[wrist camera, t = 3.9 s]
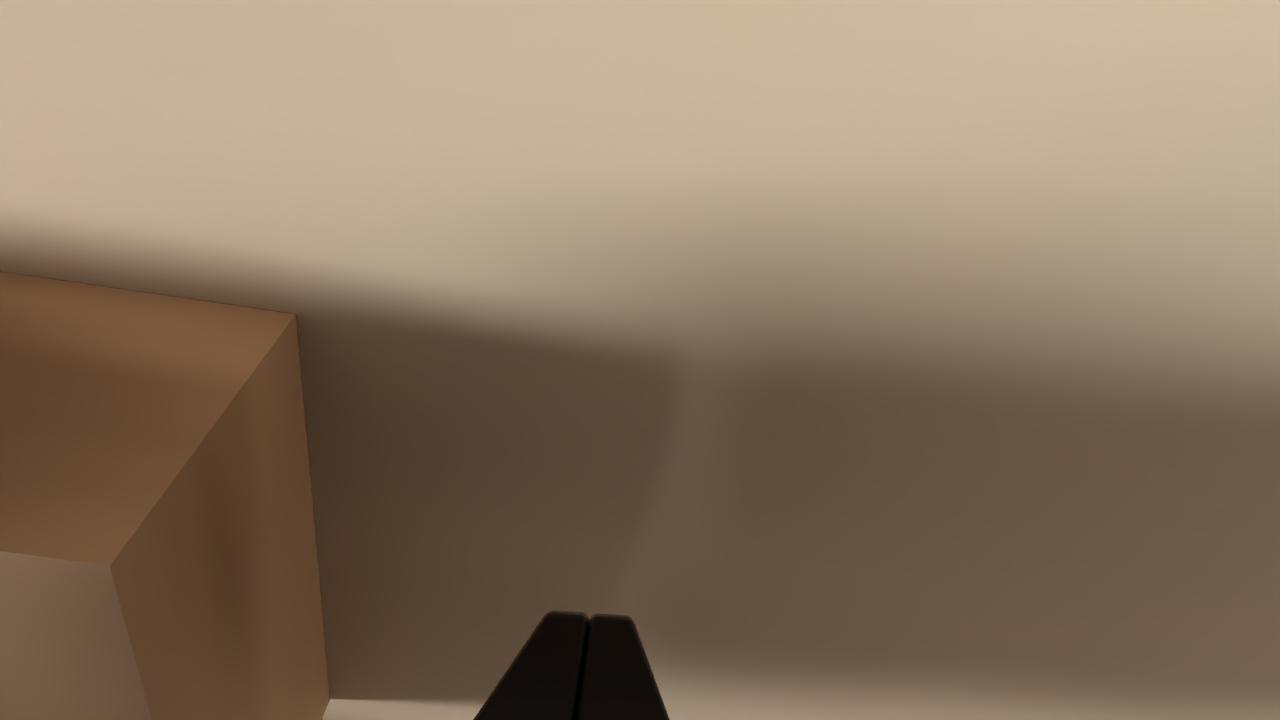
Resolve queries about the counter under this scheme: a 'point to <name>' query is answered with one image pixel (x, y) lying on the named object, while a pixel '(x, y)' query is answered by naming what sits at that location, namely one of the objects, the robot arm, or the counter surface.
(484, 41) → the counter surface
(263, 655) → the brown square block
